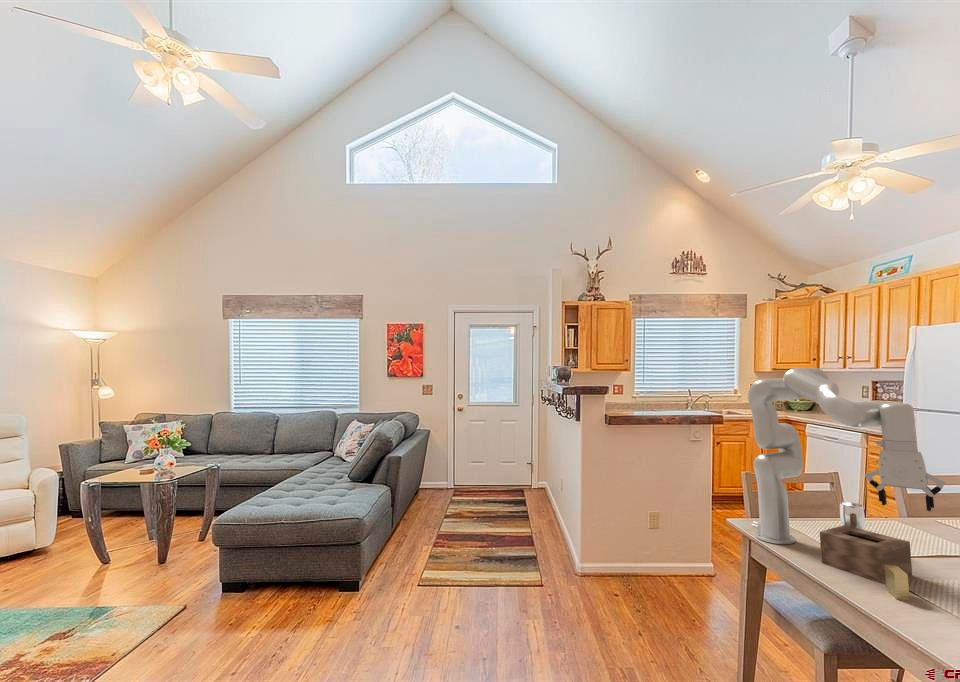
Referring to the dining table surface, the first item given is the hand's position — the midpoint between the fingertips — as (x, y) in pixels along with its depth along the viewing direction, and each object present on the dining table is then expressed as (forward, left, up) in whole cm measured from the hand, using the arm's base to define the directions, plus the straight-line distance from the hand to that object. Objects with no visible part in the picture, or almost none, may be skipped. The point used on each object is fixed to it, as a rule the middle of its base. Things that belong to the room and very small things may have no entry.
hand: (906, 507), depth 137 cm
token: (-1, -5, -24) cm, 24 cm away
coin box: (-15, +7, -24) cm, 29 cm away
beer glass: (-27, +24, -24) cm, 43 cm away
